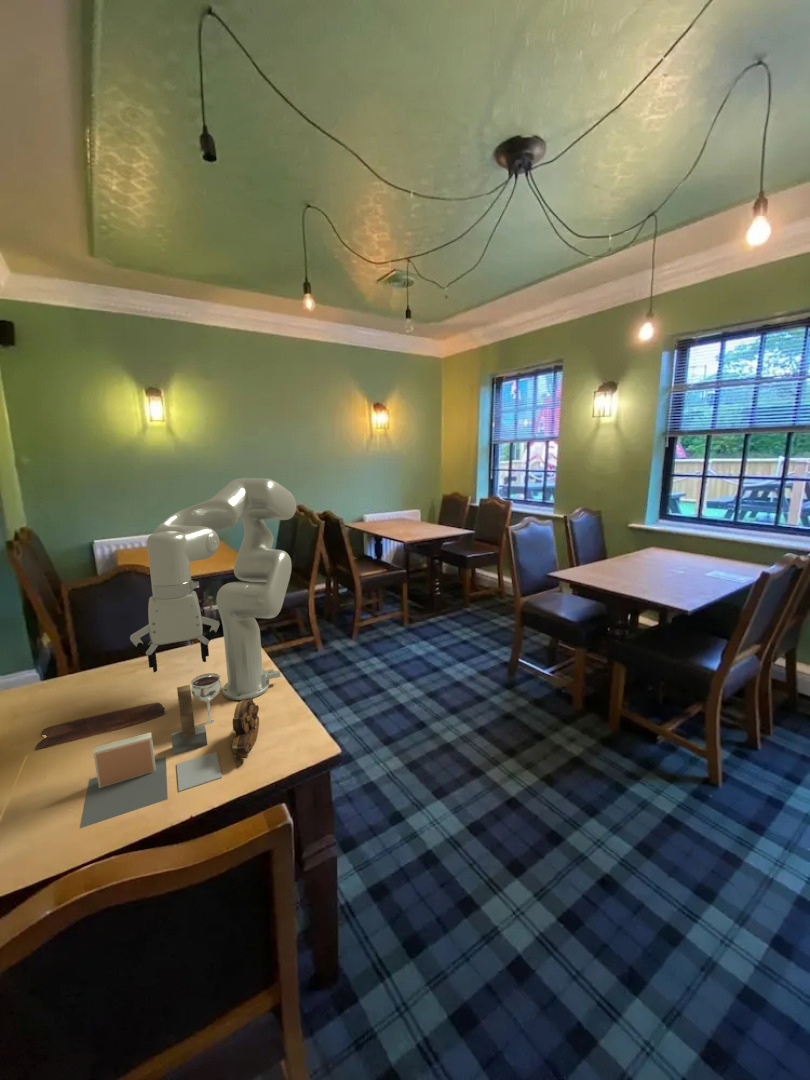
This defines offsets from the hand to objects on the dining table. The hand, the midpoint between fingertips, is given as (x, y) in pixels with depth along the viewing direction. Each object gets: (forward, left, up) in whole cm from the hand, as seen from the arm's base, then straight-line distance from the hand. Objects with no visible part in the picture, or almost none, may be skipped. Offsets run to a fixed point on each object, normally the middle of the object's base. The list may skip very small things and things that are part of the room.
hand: (180, 664), depth 98 cm
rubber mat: (+12, +8, -21) cm, 25 cm away
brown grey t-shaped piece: (0, 0, -21) cm, 21 cm away
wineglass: (-5, -8, -21) cm, 23 cm away
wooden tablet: (+18, -21, -22) cm, 35 cm away
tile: (+12, +4, -20) cm, 24 cm away
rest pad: (-1, +10, -21) cm, 23 cm away
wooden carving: (-12, +5, -21) cm, 25 cm away
